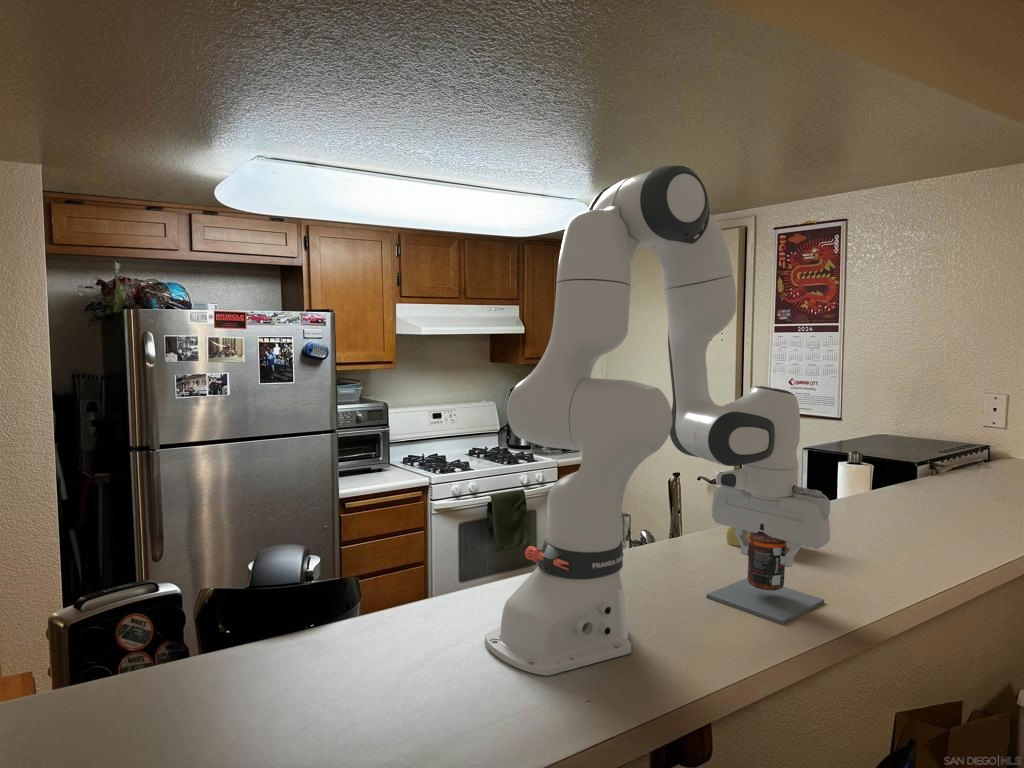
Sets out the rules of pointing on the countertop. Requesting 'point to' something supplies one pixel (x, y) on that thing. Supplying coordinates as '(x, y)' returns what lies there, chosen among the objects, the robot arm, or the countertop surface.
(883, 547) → the countertop surface
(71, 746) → the countertop surface
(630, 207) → the robot arm
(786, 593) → the mat
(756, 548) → the supplement bottle
